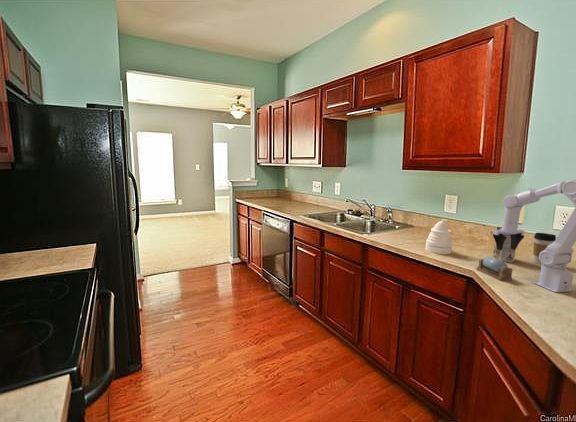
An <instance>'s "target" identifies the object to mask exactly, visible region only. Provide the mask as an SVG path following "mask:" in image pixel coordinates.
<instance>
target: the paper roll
mask: <svg viewBox="0 0 576 422" xmlns="http://www.w3.org/2000/svg"><path fill="white" fill-rule="evenodd" d="M483 259H484V260H483V265H484V266H485V267H487V268H489V269H491V270H493V271H495V272H497V273H499V272H500V268H509V265H508V264H507V262H503V261H499V260H498V259H497V258H496V259H495V257H492V256H491V257H490V256H487V257H485V258H483Z"/></svg>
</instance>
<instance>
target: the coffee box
mask: <svg viewBox="0 0 576 422" xmlns="http://www.w3.org/2000/svg"><path fill="white" fill-rule="evenodd" d="M500 228H502V226H497V228H496V230H499V229H500ZM504 236H505V237H507V238H506V239H505V241H504V244H503V248H502V250H498V249H497V247H496V242H495V241H494V245H493V253H492V256H493V258H494V259H495V258H496V260H499V261H501V262H503V263H507V262H508V263H514V261H515V255H516V250H513V249H511V247H510V246H511V236H510V234H509V235H504Z"/></svg>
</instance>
